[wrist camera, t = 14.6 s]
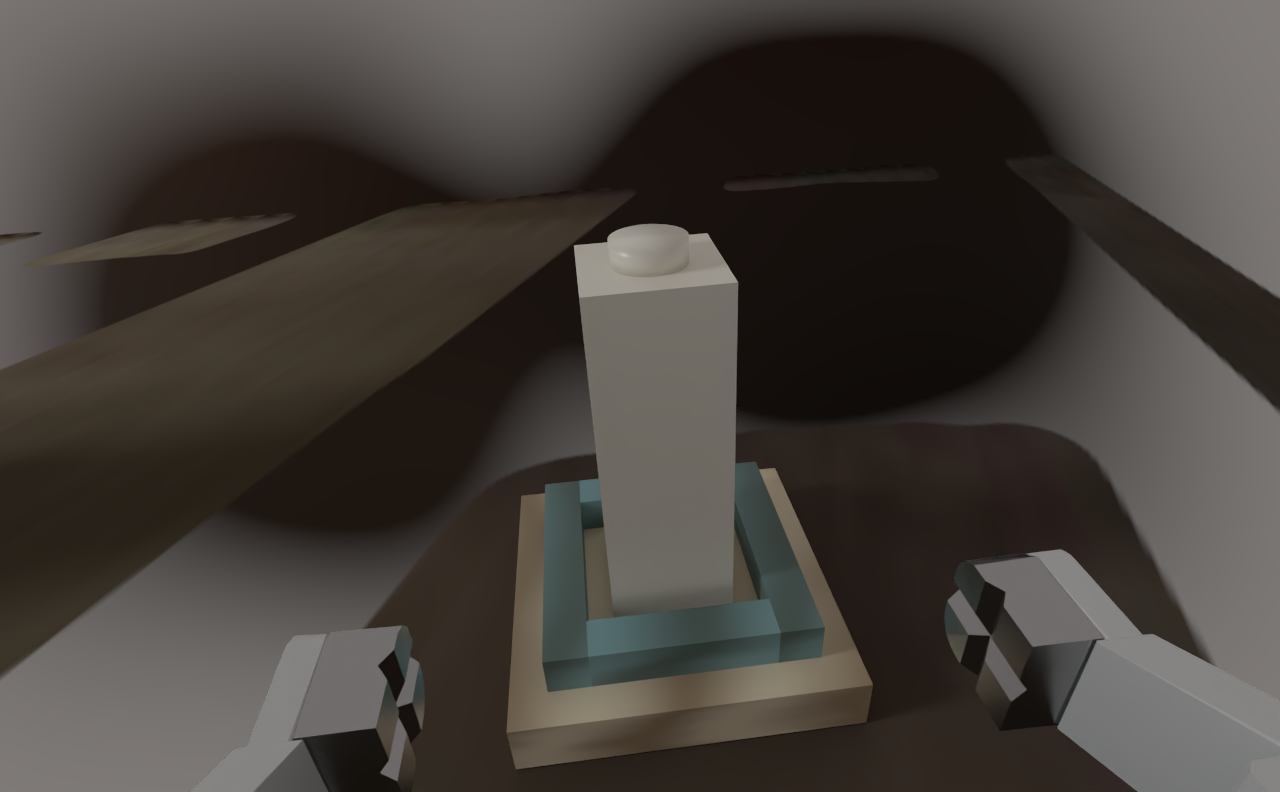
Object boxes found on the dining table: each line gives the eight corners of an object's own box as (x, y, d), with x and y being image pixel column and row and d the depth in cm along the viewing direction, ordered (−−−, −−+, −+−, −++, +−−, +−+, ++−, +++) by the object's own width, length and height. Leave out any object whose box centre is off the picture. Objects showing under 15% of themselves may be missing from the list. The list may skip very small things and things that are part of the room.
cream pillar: (614, 626, 26) (576, 269, 19) (606, 543, 30) (571, 221, 22) (732, 611, 26) (738, 254, 19) (709, 531, 30) (706, 209, 23)
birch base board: (515, 769, 23) (499, 703, 22) (527, 528, 34) (516, 470, 32) (866, 722, 24) (878, 654, 22) (773, 500, 34) (776, 442, 33)
